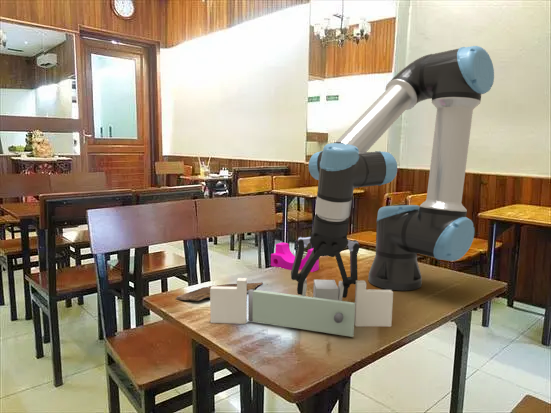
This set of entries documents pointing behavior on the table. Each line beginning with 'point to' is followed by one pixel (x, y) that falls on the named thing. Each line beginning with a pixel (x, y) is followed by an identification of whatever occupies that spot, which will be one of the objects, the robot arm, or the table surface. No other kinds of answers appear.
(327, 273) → the table surface
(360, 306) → the wall frame
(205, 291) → the wooden fragment
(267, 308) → the spring door
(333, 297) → the white stepped block
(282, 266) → the magenta saddle bracket
